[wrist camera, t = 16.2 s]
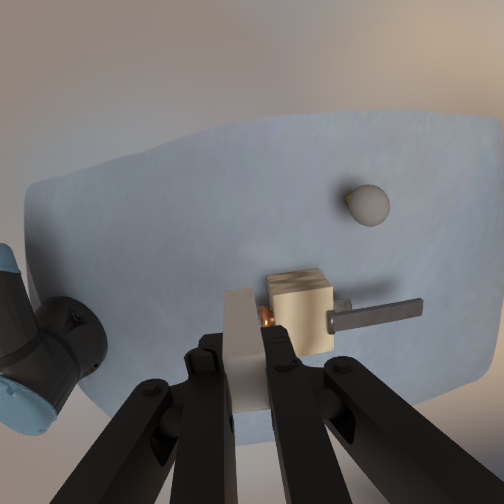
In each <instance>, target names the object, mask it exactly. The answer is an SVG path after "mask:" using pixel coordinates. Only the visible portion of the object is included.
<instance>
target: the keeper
mask: <svg viewBox="0 0 504 504" xmlns="http://www.w3.org/2000/svg"><path fill="white" fill-rule="evenodd" d="M422 310H423V300H422V299H421V298H417V299H412V300H406V301H401V302H396V303H390V304H385V305H379V306H373V307H367V308H361V309H355V310H348V311H342V312H335V311H333V310H330V311H327V333H328V334H329V335H333V334H335V331H342V330H348V329H354V328H360V327H365V326H371V325H376V324H382V323H387V322H392V321H397V320H402V319H407V318H412V317H416V316H421V315H422Z"/></svg>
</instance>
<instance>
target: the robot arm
mask: <svg viewBox="0 0 504 504" xmlns="http://www.w3.org/2000/svg"><path fill="white" fill-rule="evenodd" d="M106 353H107V339H106V335H105V332H104V329H103V327H102V325H101V323H100V322H99V320H98V319H97V317H96V316H95V315H94V314H93V313H92V312H91V311H90V310H89V309H88V308H87V307H86V306H84V305H83V304H82V303H80V302H78V301H76V300H74V299H71V298H68V297H54V298H51V299H49V300H47V301H46V302H45V303H44V304H42V305H41V306H40V307H39V308H38V309H37V311H36V313H35V314H34V312H33V309H32V306H31V304H30V301H29V298H28V295H27V292H26V290H25V286H24V283H23V280H22V277H21V271H20V270H19V269H18V266H17V263H16V260H15V257H14V254H13V251H12V249H11V248H10V247H9V246H8V245H6V244H4V243H0V421H1V422H2V423H3V424H5V425H6V426H8V427H10V428H11V429H13V430H15V431H17V432H19V433H22V434H25V435H31V436H37V435H41V434H43V433H44V432H46V431H47V429H48V428H49V427H50V425H51V424H52V422H54V421H55V420H56V419H57V416H58V414H59V412H60V411H61V409H62V407H63V405H64V404H65V402H66V400H67V399H68V397H69V395H70V394H71V392H72V390H73V388H74V387H75V385H76V384H77V382H78V381H79V380H81V379H83V378H84V377H86V376H88V375H89V374H91V373H93V372H94V371H96V370H97V369H98V368H99V366H100V365H101V363H102V362H103V360H104V358H105V356H106ZM184 359H185V363H186V367H187V371H188V375H189V376H188V380H186V381H185V382H183V383H180V384H177V385H173V386H169V385H168V383H167V382H166V381H165V380H162V379H149V380H145V381H143V382H141V383H140V384H139V385H138V386H136V388H135V389H134V390H133V392H132V393H131V394H130V396H129V397H128V398H127V400H126V401H125V402H124V404H123V405H122V406H121V408H120V409H119V410H118V412H117V413H116V414H115V416H114V417H113V418H112V420H111V421H110V422H109V424H108V425H107V426H106V428H105V429H104V430H103V432H102V433H101V434H100V436H99V437H98V438H97V440H96V441H95V442H94V444H93V445H92V446H91V448H90V449H89V450H88V452H87V453H86V454H85V456H84V457H83V458H82V460H81V461H80V463H79V464H78V465H77V467H76V468H75V469H74V471H73V472H72V473H71V475H70V476H69V477H68V479H67V480H66V482H65V483H64V484H63V486H62V487H61V488H60V490H59V491H58V492H57V494H56V495H55V496H54V498H53V499H52V501H51V502H50V504H154V503H155V501H156V499H157V497H158V495H159V493H160V490H161V488H162V486H163V484H164V481H165V480H166V478H167V476H168V474H169V472H170V469H171V468H172V465H173V463H174V461H175V466H174V473H173V481H172V488H171V496H170V504H238V498H237V481H236V480H237V479H236V458H235V434H234V420H233V415H232V410H233V413H239V412H249V411H257V410H265V409H271V417H272V427H273V430H274V435H275V441H276V446H277V452H278V458H279V463H280V470H281V475H282V481H283V487H284V492H285V498H286V503H287V504H352V501H351V498H350V495H349V492H348V489H347V486H346V484H345V481H344V478H343V475H342V472H341V469H340V467H339V464H338V461H337V458H336V455H335V453H334V450H333V447H332V444H331V441H330V439H329V436H328V433H327V430H326V427H325V425H326V426H327V427H328V428H329V430H330V431H331V432H332V433H333V435H334V436H335V437H336V439H337V440H338V441H339V442H340V443H341V445H342V446H343V447H344V449H345V450H346V451H347V452H348V454H349V455H350V456H351V457H352V459H353V460H354V461H355V462H356V463H357V465H358V466H359V467H360V468H361V470H362V471H363V472H364V473H365V474H366V476H367V477H368V478H369V479H370V480H371V482H372V483H373V484H374V485H375V486H376V487H377V489H378V490H379V491H380V492H381V493H382V495H383V496H384V497H385V498H386V499H387V501H388V502H389V503H390V504H504V482H503V481H502V480H500V479H499V478H498V477H497V476H495V475H494V474H493V473H492V472H490V471H489V470H488V469H487V468H486V467H484V466H483V465H482V464H481V463H479V462H478V461H477V460H475V458H473V457H472V456H471V455H470V454H468V453H467V452H466V451H465V450H463V449H462V448H461V447H460V446H459V445H458V444H456V443H455V442H454V441H453V440H451V439H450V438H449V437H448V436H447V435H445V434H444V433H443V432H442V431H440V430H439V429H438V428H437V427H436V426H435V425H433V424H432V423H431V422H430V421H429V420H427V419H426V418H425V417H424V416H423V415H421V414H420V413H419V412H418V411H417V410H415V409H414V408H413V407H412V406H411V405H409V404H408V403H407V402H406V401H405V400H403V399H402V398H401V397H400V396H399V395H398V394H396V393H395V392H394V391H393V390H392V389H390V388H389V387H388V386H387V385H386V384H385V383H383V382H382V381H381V380H380V379H379V378H377V377H376V376H375V375H374V374H373V373H372V372H370V371H369V370H368V369H367V368H366V367H364V366H363V365H362V364H361V363H360V362H359V361H357V360H356V359H354V358H352V357H347V356H338V357H334V358H331V359H329V360H328V361H327V362H326V363H325V364H324V368H322V367H309V366H306V365H304V364H303V363H302V362H301V360H300V359H299V358H297V357H296V354H295V351H294V348H293V345H292V342H291V339H290V337H289V334H288V331H287V329H286V328H284V327H283V326H282V325H276V326H268V327H261V328H260V324H259V319H258V314H257V309H256V304H255V298H254V293H253V288H246V289H238V290H229V291H225V295H224V322H223V333H215V334H205V335H204V336H203V337H202V338H201V339H200V340H199V344H198V348H195V349H192V350H190V351H189V352H188V353H186V355H185V356H184ZM323 421H324V422H323ZM324 423H325V424H324Z"/></svg>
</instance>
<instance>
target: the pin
mask: <svg viewBox="0 0 504 504" xmlns="http://www.w3.org/2000/svg"><path fill="white" fill-rule="evenodd" d="M348 310H352V304H351V301H350V299H349V298H346V299H341V300H335V301H333V311H335V312H342V311H348ZM259 311H260V319H261V326H262V327H268V326H275V321H274V312H273V310H270V311H269V309H268V305H266V306H259Z"/></svg>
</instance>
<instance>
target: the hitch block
mask: <svg viewBox="0 0 504 504" xmlns="http://www.w3.org/2000/svg"><path fill="white" fill-rule="evenodd" d="M267 285H268V294H269V303H270V310H273V312H274V321H275V326H276V325H282V326H283V327H284V328H286V329H287V331H288V334H289V337H290V339H291V342H292V345H293V348H294V351H295V354H296V357H299V356H305V355H310V354H316V353H322V352H327V351H332V350H334V334H333V335H329V334H328V333H327V311H330V310H333V286H332V285H331V284H330V283H329V281H328V280H327V279H326V278H325V277H324V275H323V274H322V273H321V272H320V271H319V270H318V269H311V270H304V271H297V272H290V273H283V274H275V275H268V276H267Z"/></svg>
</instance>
